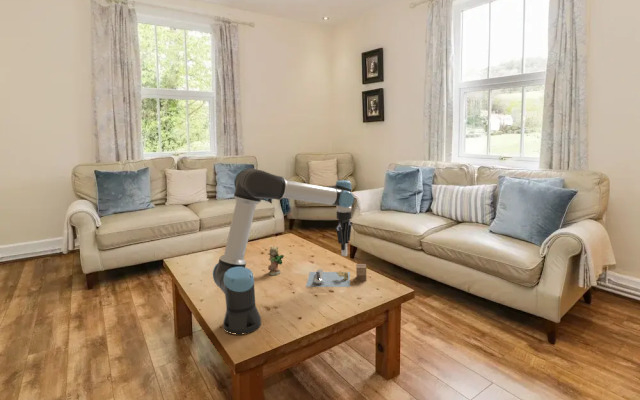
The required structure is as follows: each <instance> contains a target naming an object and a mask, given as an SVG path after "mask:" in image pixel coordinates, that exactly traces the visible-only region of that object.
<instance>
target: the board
mask: <svg viewBox="0 0 640 400" xmlns="http://www.w3.org/2000/svg"><path fill="white" fill-rule="evenodd" d="M337 272H338V271H323V277H322V279H323V283H322V284H319V285H317V284H314V278H317V279H320V271H309V274H308V278H307V281H306V284H305V288H306V287H309V288H313V287H314V288H315V287H316V288H320V287H321V288H331V287H332V288H349V287H351V272H350V271H346V272H347V273H348V280H345V279H344V276H342V277H339V276H338V274H337Z"/></svg>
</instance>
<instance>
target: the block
mask: <svg viewBox="0 0 640 400" xmlns="http://www.w3.org/2000/svg"><path fill="white" fill-rule="evenodd" d="M355 267H356V268H355V269H356V281H357V282H361V281H362V282H367V264H366V263H356V266H355Z"/></svg>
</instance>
